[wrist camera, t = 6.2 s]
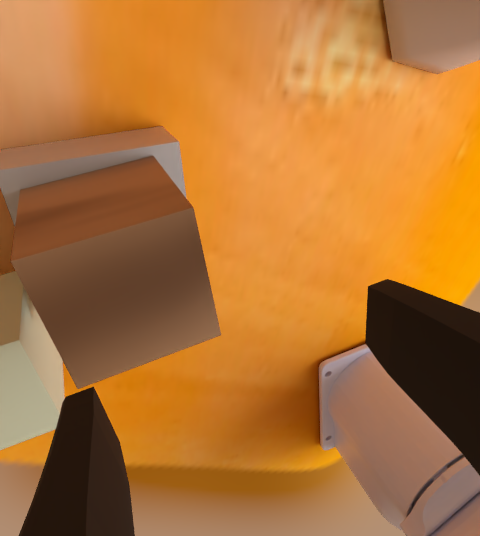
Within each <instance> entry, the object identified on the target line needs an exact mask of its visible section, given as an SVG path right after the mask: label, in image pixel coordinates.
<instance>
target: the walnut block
mask: <svg viewBox="0 0 480 536" xmlns="http://www.w3.org/2000/svg"><path fill="white" fill-rule="evenodd" d="M11 263H12V265H13V267H14V269H15V271H16V273H17V275H18V277H19V278H20V280H21V282H22V284H23V286H24V288H25V290H26V292H27V294H28V296H29V297H30V299H31V301H32V303H33V305H34V307H35V309H36V311H37V313H38V314H39V316H40V318H41V320H42V322H43V324H44V326H45V328H46V330H47V332H48V333H49V335H50V337H51V339H52V341H53V343H54V345H55V347H56V349H57V351H58V352H59V354H60V356H61V358H62V360H63V362H64V364H65V366H66V368H67V370H68V371H69V373H70V375H71V377H72V379H73V381H74V383H75V385H76V387H77V388H78V389H79V388H82V387H85V386H87V385H90V384H93V383H95V382H98V381H101V380H103V379H106V378H108V377H111V376H114V375H116V374H119V373H122V372H124V371H127V370H130V369H132V368H135V367H138V366H140V365H143V364H146V363H148V362H151V361H154V360H156V359H159V358H162V357H164V356H167V355H170V354H172V353H175V352H177V351H180V350H183V349H185V348H188V347H191V346H193V345H196V344H199V343H201V342H204V341H207V340H209V339H212V338H215V337H217V336H220V335H221V332H220V327H219V323H218V318H217V314H216V309H215V305H214V300H213V295H212V291H211V286H210V282H209V277H208V273H207V268H206V263H205V259H204V254H203V250H202V245H201V241H200V236H199V231H198V227H197V222H196V218H195V213H194V209H193V206H192V205H191V204H190V203H189V201H188V200H187V199H186V197H185V196H184V195H183V193H182V192H181V191H180V190H179V188H178V187H177V186H176V184H175V183H174V182H173V180H172V179H171V178H170V177H169V175H168V174H167V173H166V171H165V170H164V169H163V167H162V166H161V165H160V163H159V162H158V161H157V160H156V158H155V157H154V156H149V157H145V158H142V159H138V160H134V161H130V162H126V163H122V164H118V165H114V166H111V167H107V168H103V169H99V170H95V171H91V172H87V173H83V174H80V175H76V176H72V177H68V178H64V179H60V180H56V181H52V182H49V183H45V184H41V185H37V186H33V187H29V188H25V189H21V190H20V194H19V201H18V209H17V216H16V224H15V232H14V239H13V247H12V254H11Z"/></svg>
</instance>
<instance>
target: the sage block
mask: <svg viewBox="0 0 480 536" xmlns="http://www.w3.org/2000/svg"><path fill="white" fill-rule="evenodd" d="M64 399H65V398H64V378H63V360H62V358H61V356H60V354H59V352H58V351H57V349H56V347H55V345H54V343H53V341H52V339H51V337H50V335H49V333H48V332H47V330H46V328H45V326H44V324H43V322H42V320H41V318H40V316H39V314H38V313H37V311H36V309H35V307H34V305H33V303H32V301H31V299H30V297H29V296H28V294H27V292H26V290H25V288H24V286H23V284H22V282H21V280H20V278H19V277H18V275H17V273H16V271H14V272H10V273H6V274H3V275H0V450H2V449H5V448H7V447H10V446H13V445H15V444H18V443H21V442H23V441H26V440H28V439H31V438H34V437H36V436H39V435H42V434H44V433H47V432H50V431H52V430H55V429H56V426H57V422H58V419H59V415H60V411H61V407H62V402H63V401H64Z"/></svg>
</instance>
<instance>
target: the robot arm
mask: <svg viewBox="0 0 480 536" xmlns="http://www.w3.org/2000/svg"><path fill="white" fill-rule="evenodd" d="M365 343H366V344H364V345H362V346H359V347H357V348H354V349H352V350H349V351H347V352H344V353H342V354H339V355H337V356H334V357H332V358H329V359H327V360H325V361H323V362H322V363H321V364H320V365H319V399H320V443H321V447H322V449H323V450H329V449H331V448H333V447H336V448H337V450H338V451H339V453H340V454H341V456H342V457H343V459H344V460H345V462H346V463H347V465H348V466H349V468H350V469H351V471H352V472H353V473H354V475H355V477H356V478H357V480H358V481H359V483H360V484H361V486H362V487H363V489H364V490H365V492H366V493H367V495H368V496H369V497H370V499H371V501H372V502H373V504H374V505H375V507H376V508H377V510H378V511H379V512H380V513H381V515H382V516H383V517H384V518H385V519H386V520H387V521H388V522H390V523H391V524H392V525H394V526H396V527H397V528H399V529H400V530H402V531H403V532H404V533H405V535H406V536H480V313H479V312H476V311H473V310H470V309H468V308H465V307H462V306H460V305H457V304H454V303H452V302H449V301H446V300H444V299H441V298H438V297H436V296H433V295H430V294H428V293H425V292H423V291H420V290H417V289H415V288H412V287H409V286H406V285H404V284H401V283H398V282H395V281H392V280H389V279H387V280H384V281H381V282H378V283H376V284H373V285H370V286H368V299H367V320H366V341H365ZM19 536H135V535H134V526H133V516H132V506H131V497H130V488H129V482H128V477H127V473H126V468H125V463H124V459H123V455H122V450H121V446H120V442H119V440H118V437H117V435H116V433H115V431H114V429H113V427H112V425H111V423H110V420H109V418H108V416H107V414H106V412H105V410H104V408H103V406H102V403H101V401H100V399H99V397H98V395H97V393H96V391H95V389H94V387H92V388H89V389H86V390H83V391H81V392H78V393H75V394H73V395H70V396H67V397H66V398H65V399H64V401H63V402H62V407H61V411H60V415H59V419H58V422H57V426H56V430H55V433H54V437H53V440H52V444H51V447H50V450H49V453H48V457H47V460H46V463H45V466H44V469H43V472H42V475H41V478H40V481H39V484H38V487H37V489H36V492H35V495H34V498H33V501H32V503H31V506H30V508H29V511H28V514H27V516H26V519H25V521H24V524H23V526H22V529H21V531H20V534H19Z"/></svg>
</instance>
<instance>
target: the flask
mask: <svg viewBox="0 0 480 536" xmlns="http://www.w3.org/2000/svg"><path fill="white" fill-rule="evenodd" d="M383 3H384V10H385V16H386V23H387V29H388V35H389V42H390V48H391V54H392V61H395V62H398V63H401V64H405V65H408V66H411V67H415V68H418V69H422V70H425V71H428V72H432V73H435V74H439V73H442V72H445V71H449V70H452V69H455V68H458V67H461V66H464V65H466V64H469V63H472V62H475V61H478V60H480V0H383Z"/></svg>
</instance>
